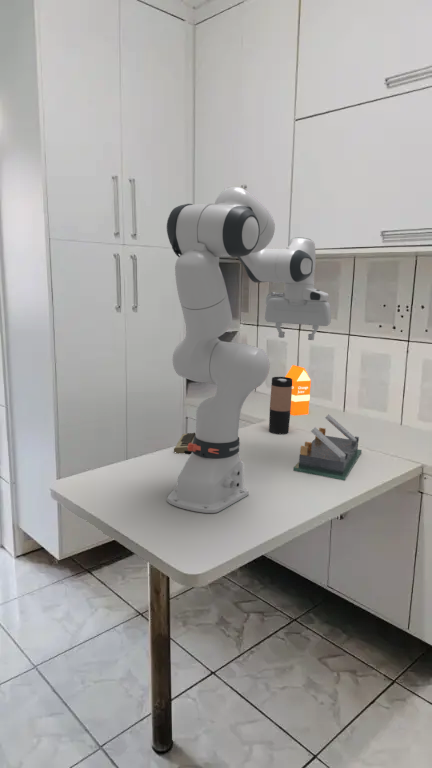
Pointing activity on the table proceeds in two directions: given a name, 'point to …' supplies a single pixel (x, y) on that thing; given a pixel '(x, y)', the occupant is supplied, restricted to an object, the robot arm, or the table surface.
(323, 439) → the strap front
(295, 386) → the orange juice
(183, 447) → the computer
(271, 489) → the table surface
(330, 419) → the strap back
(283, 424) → the travel mug
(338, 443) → the dark piece
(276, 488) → the table surface
